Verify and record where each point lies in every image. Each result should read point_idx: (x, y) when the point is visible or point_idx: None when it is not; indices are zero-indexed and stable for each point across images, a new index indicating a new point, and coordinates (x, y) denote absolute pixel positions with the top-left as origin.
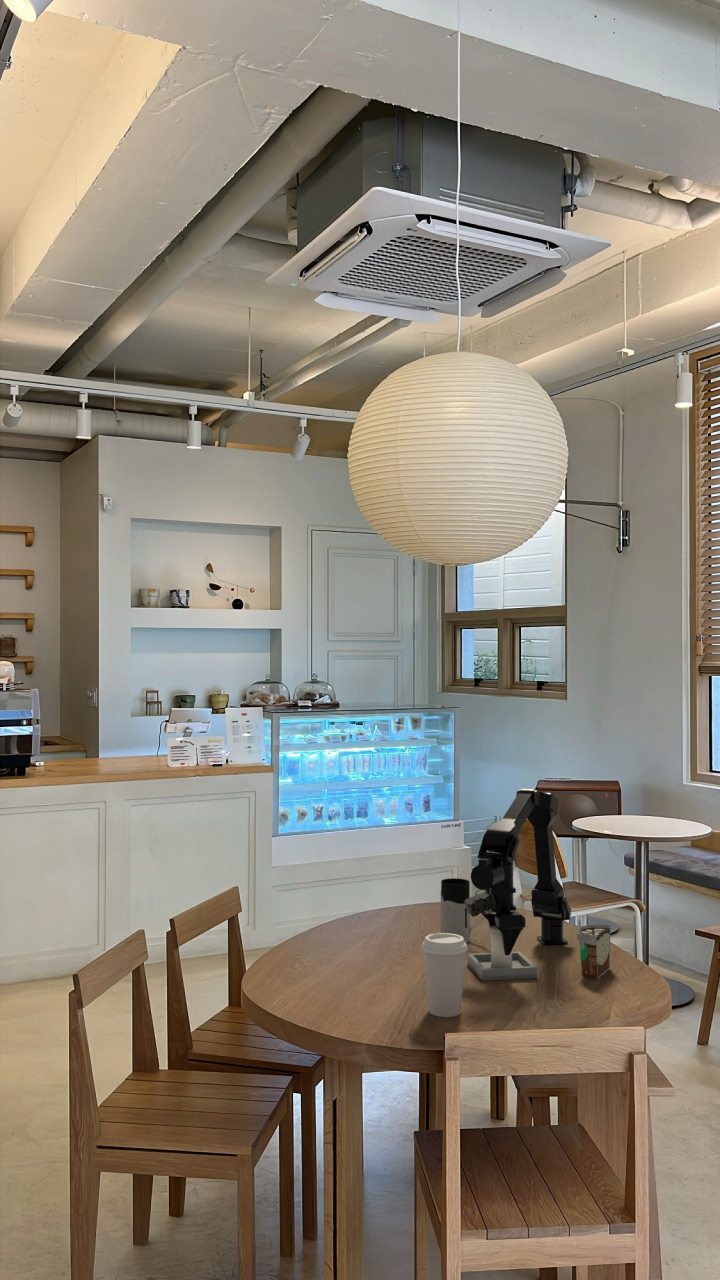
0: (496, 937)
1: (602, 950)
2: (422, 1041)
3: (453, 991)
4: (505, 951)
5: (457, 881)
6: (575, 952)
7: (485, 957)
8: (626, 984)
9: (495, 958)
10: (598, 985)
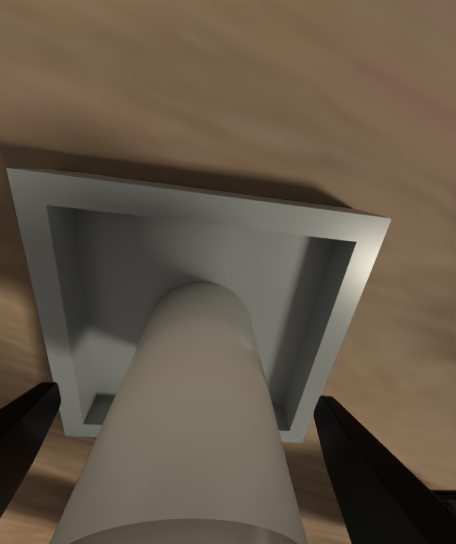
0: (83, 491)
1: None
2: None
3: None
4: (12, 405)
5: None
6: (312, 521)
7: (324, 303)
8: (28, 534)
9: (158, 321)
10: (14, 496)
